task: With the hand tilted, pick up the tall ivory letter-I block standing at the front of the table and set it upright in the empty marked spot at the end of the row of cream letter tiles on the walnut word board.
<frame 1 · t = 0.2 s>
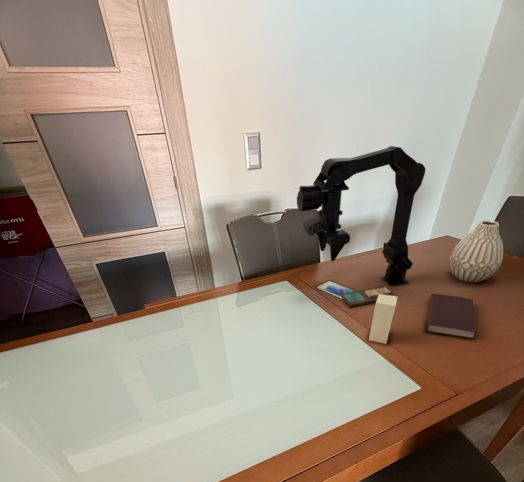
hand: (327, 255, 103), 15 cm above the table, tool pointing down, fingers open, 9 cm apart
letter I: (378, 337, 91), on the table
vase: (467, 277, 114), on the table
smartphone: (338, 292, 114), on the table
word board: (366, 297, 108), on the table
book: (448, 319, 95), on the table
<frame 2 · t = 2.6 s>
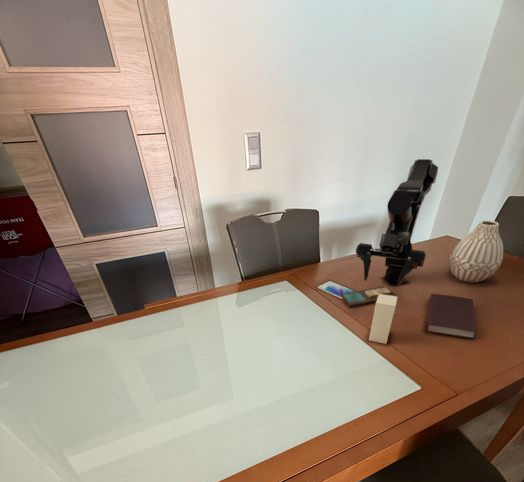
hand: (380, 283, 89), 13 cm above the table, tool tilted 40°, fingers open, 9 cm apart
nothing on the table moved.
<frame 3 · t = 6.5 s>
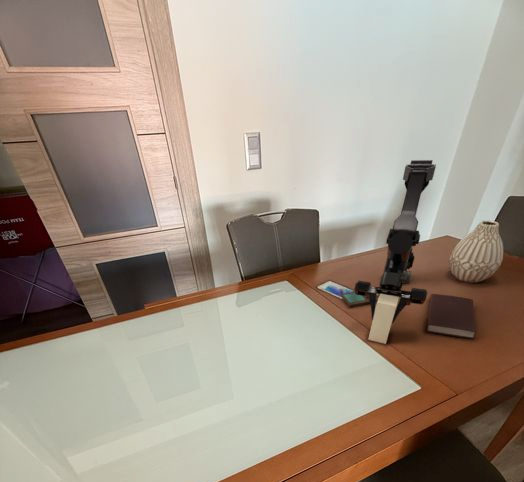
hand: (382, 321, 85), 7 cm above the table, tool tilted 45°, fingers closed on letter I, 5 cm apart
letter I: (378, 337, 91), on the table, touching gripper
everything else where it was.
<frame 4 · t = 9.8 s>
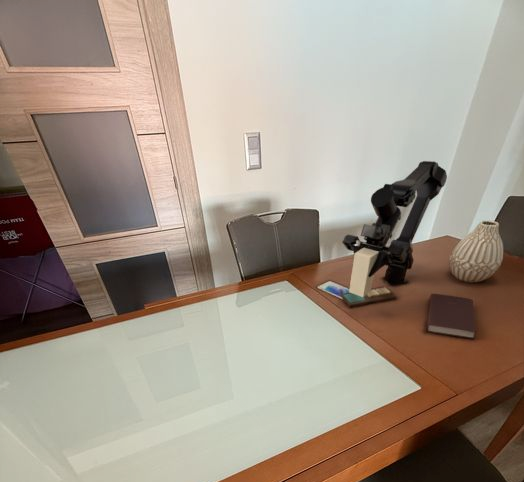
hand: (360, 274, 91), 15 cm above the table, tool tilted 45°, fingers closed on letter I, 5 cm apart
letter I: (360, 291, 96), point 8 cm above the table, touching gripper
everything else where it was.
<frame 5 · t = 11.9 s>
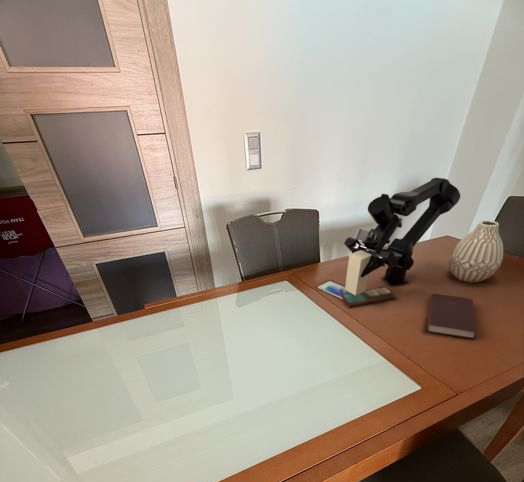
hand: (354, 274, 100), 10 cm above the table, tool tilted 45°, fingers closed on letter I, 5 cm apart
letter I: (355, 290, 105), point 4 cm above the table, touching gripper
everything else where it was.
when the fingers open (8 cm above the table, at t = 13.2 s): letter I stays where it is, resting on word board.
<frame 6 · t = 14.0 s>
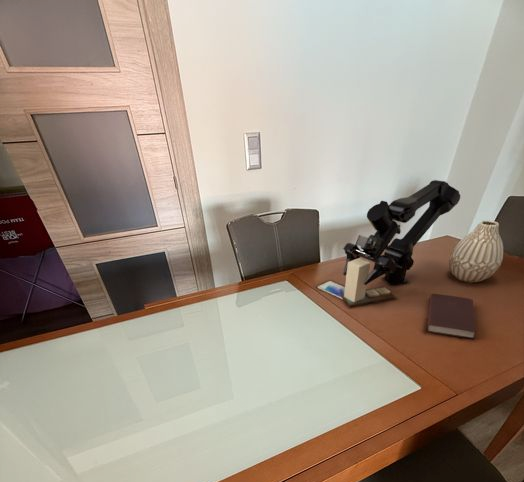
hand: (353, 279, 102), 9 cm above the table, tool tilted 45°, fingers open, 9 cm apart
letter I: (354, 297, 107), point 1 cm above the table, touching word board
everything else where it was.
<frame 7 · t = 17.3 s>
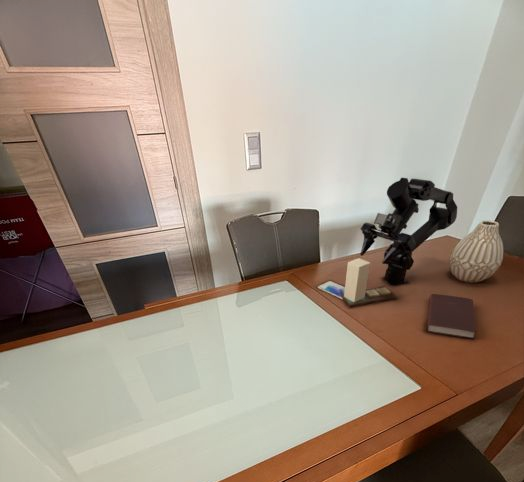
hand: (371, 259, 101), 14 cm above the table, tool tilted 45°, fingers open, 9 cm apart
nothing on the table moved.
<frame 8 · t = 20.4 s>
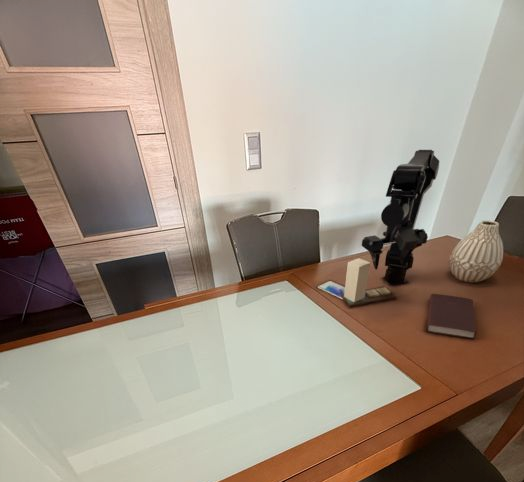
hand: (388, 266, 97), 13 cm above the table, tool pointing down, fingers open, 9 cm apart
nothing on the table moved.
at the end: letter I 0.1 cm from the target spot on the word board, point 1.1 cm above the word board's base; letter I tilted 0°; the gripper is holding nothing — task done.
